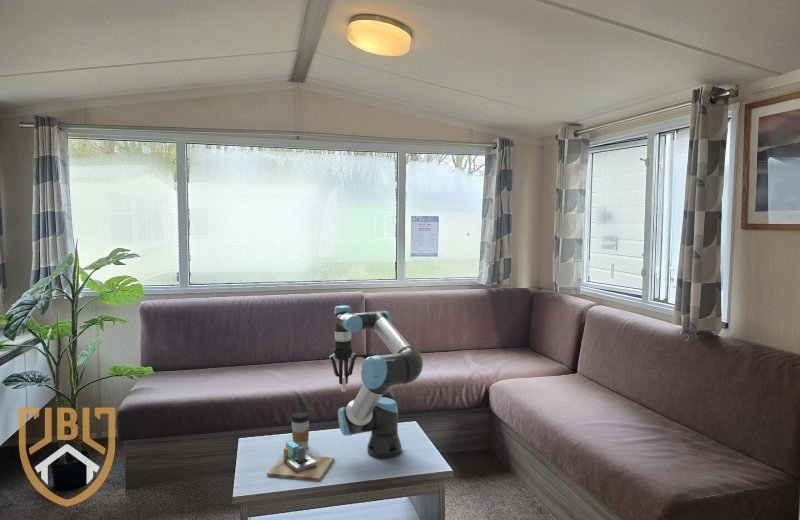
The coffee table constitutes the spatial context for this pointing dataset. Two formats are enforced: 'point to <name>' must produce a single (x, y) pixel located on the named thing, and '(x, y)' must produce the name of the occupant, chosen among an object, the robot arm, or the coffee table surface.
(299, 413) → the coffee cup
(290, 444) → the flange
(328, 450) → the coffee table surface
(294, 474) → the post base
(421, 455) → the coffee table surface
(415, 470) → the coffee table surface
